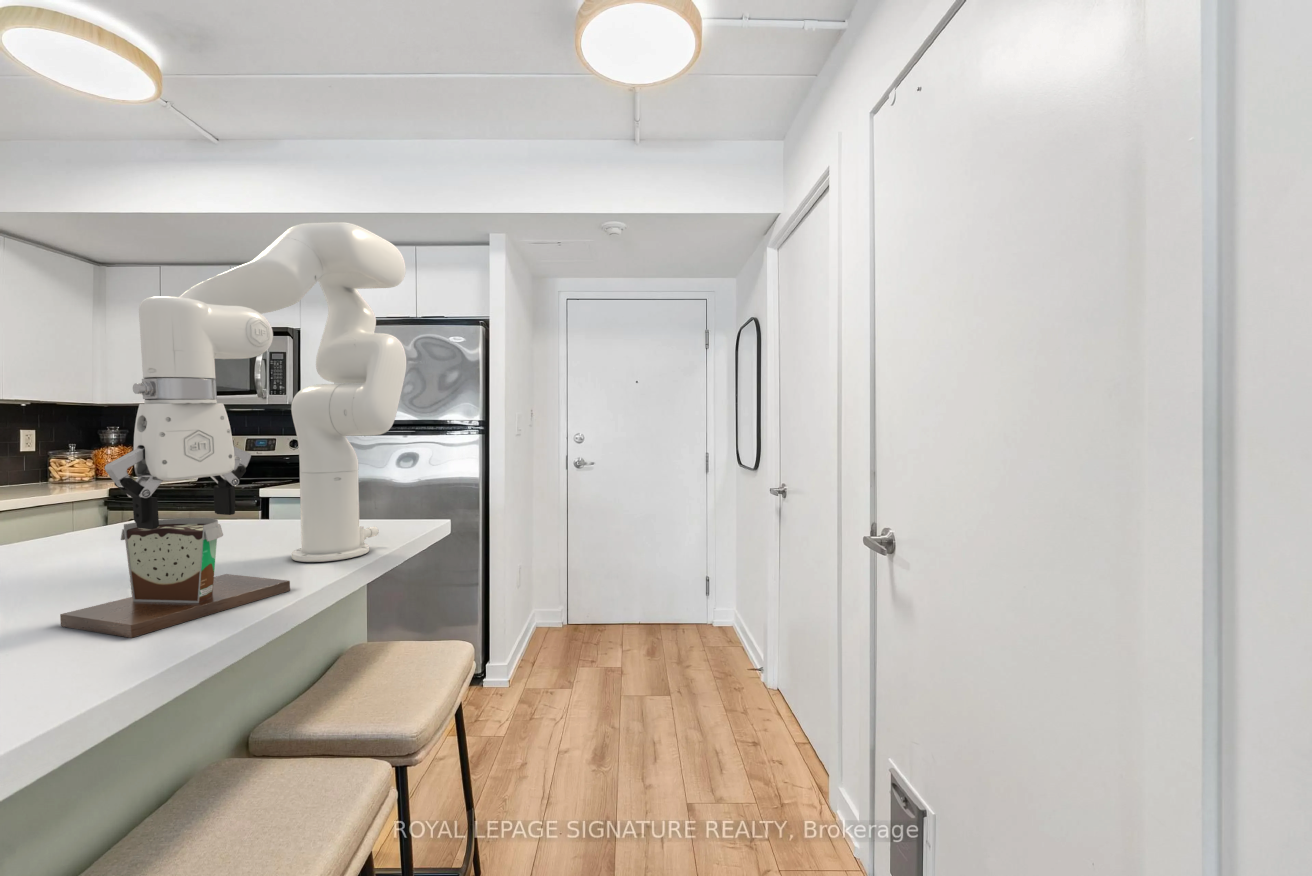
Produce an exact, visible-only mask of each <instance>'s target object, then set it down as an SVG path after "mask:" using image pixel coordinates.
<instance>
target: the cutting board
mask: <svg viewBox="0 0 1312 876" xmlns="http://www.w3.org/2000/svg"><path fill="white" fill-rule="evenodd" d="M290 591H291V581H290V580H289V579H288V580H287V579H280V578H279V579H277V578H270V577H269V578H268V577H258V576H250V575H249V576H248V575H242V574H241V575H240V574H231V573H224V574H220V575H217V576H216V575H215V576H214V582H213V594H212V597H211V598H209V599H208V600H206V601H203V602H201V603H175V602H135V601H133V599H132V596H130V597H126V598H121V599H117V600H113V601H109V602H104V603H101V604H96V605H92V606H88V607H84V608H80V609H76V610H71V611H68V612H64V613H60V616H59V619H60V622H59V623H60V627H63V628H70V629H75V630H81V631H86V632H87V631H88V632H93V633H99V634H105V635H111V636H118V637H124V638H136V637H139V636H143V635H146V634H149V633H152V632H153V633H154V632H157V631H160V630H163V629H167V628H171V627H173V626H176V625H180V624H183V623H186V622H190V621H193V620H196V619H200V618H204V617H206V616H209V615H213V614H217V613H220V612H224V611H226V610H231V609H233V608H236V607H241V606H244V605H246V604H250V603H253V602H257V601H259V600H260V601H261V600H263V599H266V598H271V597H273V596H277V595H280V594H284V593H286V592H290Z"/></svg>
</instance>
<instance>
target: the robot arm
mask: <svg viewBox="0 0 1312 876" xmlns="http://www.w3.org/2000/svg"><path fill="white" fill-rule="evenodd" d="M406 269H407V267H406V262H405V259H404V256H403V254H402V252H401V250H399V248H398V247H397V246H396V245H395V244H393V243H391V242H390V241H388V240H387V239H385V238H383V237H381V236H380V235H378V234H376V233H374V232H372V231H370V230H368V229H367V228H364V227H362V226H360V225H357V224H355V223H351V222H346V221H341V222H340V221H335V222H334V221H333V222H306V223H300V224H295V225H293V226H291V227H290V228H288V229H286V230H285V231H284V232H283V233H282V234H281V235H280V236H278V237H277V238H276V239H275V240H274V241H273V242H271V244H270V245H268V246H267V247H266V248H265V249H264V250H263V251H261V252H260V253H259V254H258V255H257V256H255V258H253V259H252V260H250V261H248V262H246V263H243V264H241V265H238V266H236V267H234V268H231V269H229V270H227V271H224V272H222V273H219V274H217V275H215V276H213V277H210V278H208V279H205V280H203V281H201V282H199V283H196V284H195V285H193V286H192V287H190V288H188V289H187V290H186V291H184V292H183V293H182V294H181V295H179V296H163V295H162V296H161V295H160V296H150V297H146V298H144V299H143V300H142V301H140V303H139V307H138V318H139V319H138V321H139V335H140V337H139V338H140V351H141V368H142V369H141V370H142V378H141V382H140V383H138V382H136V383H134V384H133V385H132V392H133V393H134V394H135V395H142V399H143V401H144V403H139V404H138V408H137V413H136V417H135V423H134V432H133V450H131V451H130V452H127V453H126V454H124V455H122V456H120V457H118V458H116V459H115V460H112V461H110V462H109V463H107V464H105V466H104V471H105V472H106V473H107V475H108V477H109V478H110V479H111V480H112V481H113V483H114V486H115V487H116V488H118V489H119V490H121V491H122V492H124V493H125V494H126V496H127V497H128V498H131V499H132V510H133V511H132V514H133V515H132V516H133V521H134V523H136V525H137V528H143V529H156V528H157V527H159V520H160V519H159V503H158V502H159V501H158V498H157V497H156V496H153V494H154V493H155V491H156V490H157V489H158V488H159V486H160V485H161V484H162V483H163V481H166V482H167V481H168V482H169V481H170V482H171V481H173V482H174V481H183V480H193V479H201V478H209V477H210V478H211V479H212V480H213V481H214V482H215V483H216V484H217V485H214V486H213V490H212V491H213V508H214V509H213V510H214V514H216V515H221V516H223V515H224V516H232V515H235V514H236V486H238V485H239V484H240V480H241V478H243V476H244V475H245V473H246V472H247V467H248V465H249V463H250V461H251V458H252V454H251V453H250V452H248V451H245V450H243V449H241V448H239V447H236V446H234V440H233V435H232V434H233V433H232V429H231V425H230V421H229V417H228V413H227V409H226V408H225V405H224V403H223V402H221V403H218V399H217V398H218V397H217V396H218V395H217V378H216V360H219V359H220V360H243V359H252V358H255V357H258V356H261V355H263V354H264V353H265V352H267V351H268V349H270V347H271V345H272V343H273V339H274V331H273V327H272V325H271V324H270V323H271V322H269V320H268V318H266V317H265V315H264V314H267V313H272V312H273V313H274V312H276V311H280V310H283V309H285V308H289V307H291V306H294V305H295V304H298V303H299V302H300V301H301V300H302V299H303V298H304V297H305V296H306V295H307V294H308V293H309V291H310V290H311V289H312V288H313V287H314V286H315V285H316V284H317V283H318V284H319V287H320V289H321V291H322V293H323V296H324V298H325V301H326V304H327V308H328V309H327V318H326V322H325V324H324V325H325V326H324V329H323V333H322V335H321V339H320V343H319V346H318V349H317V353H316V358H315V368H316V372H317V374H318V375H319V377H320V378H322V380H325V381H327V382H331V383H319V384H312V385H308V386H306V387H303V388H301V389H300V390H299V391H297V392H296V394H295V395H294V397H293V398H292V402H291V407H290V410H291V417H292V422H293V425H294V429H295V434H296V438H297V445H298V457H299V458H298V460H299V496H300V497H299V501H300V504H299V505H300V507H299V508H300V545H301V546H300V548H296V549H295V550H293V551H292V552H291V559H292V560H293V561H295V562H301V563H322V562H324V563H325V562H333V561H334V562H335V561H340V560H346V559H348V560H349V559H351V558H357V557H360V556H364V555H366V554H367V553H369V551H370V545H369V544H368V543H365V540H367V538H374V537H377V536H379V533H380V532H379V528H378V527H377V526H375V525H374V526H370V527H369V526H368V527H366V528H365V527H364V526H360V491H359V490H360V489H359V488H360V487H359V458H358V456H357V451H356V450H355V449H354V447H353V445H352V444H351V442H350V441H349V439H348V438H347V437H349V436H351V437H356V436H357V437H358V436H359V437H360V436H361V437H363V436H364V437H365V436H366V437H367V436H368V437H369V436H380V435H384V434H386V433H387V432H389V430H391V428H392V427H393V425H394V423H395V420H396V417H397V413H398V408H399V405H400V400H401V396H402V391H403V387H404V383H405V377H406V373H407V372H406V371H407V355H406V349H405V347H404V345H403V344H402V341H400V340H399V338H397V337H396V336H395V335H393V334H390V333H383V332H375V330H376V326H377V317H376V314H375V313H374V310H373V308H372V307H371V306H370V305H369V302H367V301H366V300H365V299H364V297H363V296H362V294H361V293H360V292H359V290H365V289H369V290H370V289H371V290H372V289H390V288H395V287H398V286H399V285H400V284H401V283H402V282H403V281H404V279H405V277H406V272H407V271H406ZM133 466H134V472H135V476H136V477H137V478H136V479H133V478H132V477H131V476H130V475H129V473H128V469H130V468H131V467H133Z"/></svg>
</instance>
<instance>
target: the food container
mask: <svg viewBox="0 0 1312 876" xmlns="http://www.w3.org/2000/svg"><path fill="white" fill-rule="evenodd" d="M223 536H224V532H223V529H222V525H221V523H219V520H218V519H217V518H211V517H181V518H179V517H178V518H165V519H159V527H157V528H156V529H143V528H137V525H136V523H135V522H130V523H124V524H123V528H122V529H121V536H120V541H124V542H125V551H126V558H127V566H128V567H127V568H128V574H129V582H130V590H131V591H130V592H131V597H132V599H133V601H135V602H175V603H201V602H203V601H206V600H208V599H209V598H211V597H212V594H213V582H214V577H215V569H216V557H217V556H216V555H217V546H218V545H217V544H218V543H217V542H218V539H220V538H222V537H223Z"/></svg>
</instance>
